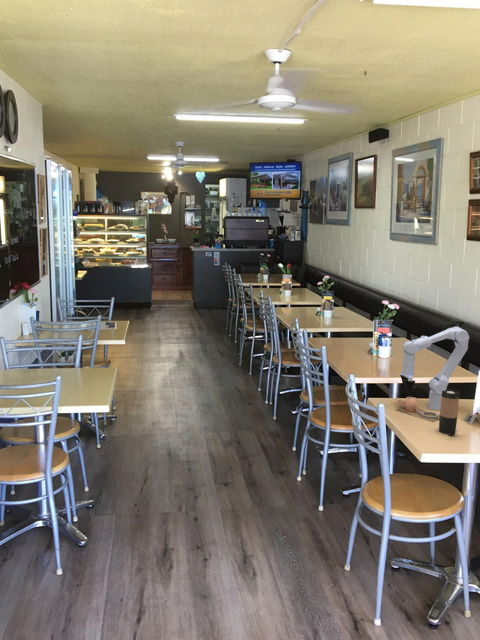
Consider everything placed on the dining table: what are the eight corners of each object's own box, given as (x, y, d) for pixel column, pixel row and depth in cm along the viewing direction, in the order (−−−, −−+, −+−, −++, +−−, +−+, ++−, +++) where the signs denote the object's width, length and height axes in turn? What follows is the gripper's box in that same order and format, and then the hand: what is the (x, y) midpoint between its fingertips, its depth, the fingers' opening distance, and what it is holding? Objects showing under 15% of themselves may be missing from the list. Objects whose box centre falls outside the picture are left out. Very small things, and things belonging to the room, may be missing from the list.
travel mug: (456, 437, 276) (460, 394, 272) (439, 435, 277) (442, 393, 274) (454, 431, 283) (458, 389, 280) (437, 429, 285) (440, 388, 281)
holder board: (408, 407, 317) (408, 403, 316) (446, 419, 300) (447, 415, 300) (394, 412, 309) (394, 407, 309) (433, 424, 292) (433, 419, 292)
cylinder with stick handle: (417, 411, 308) (418, 398, 307) (412, 413, 305) (413, 400, 304) (400, 406, 316) (401, 394, 315) (394, 408, 312) (395, 395, 311)
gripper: (398, 361, 318) (396, 386, 320) (403, 368, 304) (401, 394, 306) (412, 362, 318) (410, 387, 320) (417, 369, 303) (415, 395, 306)
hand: (406, 391), depth 313 cm, fingers open, 7 cm apart
